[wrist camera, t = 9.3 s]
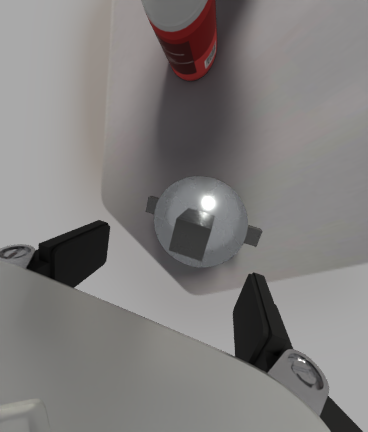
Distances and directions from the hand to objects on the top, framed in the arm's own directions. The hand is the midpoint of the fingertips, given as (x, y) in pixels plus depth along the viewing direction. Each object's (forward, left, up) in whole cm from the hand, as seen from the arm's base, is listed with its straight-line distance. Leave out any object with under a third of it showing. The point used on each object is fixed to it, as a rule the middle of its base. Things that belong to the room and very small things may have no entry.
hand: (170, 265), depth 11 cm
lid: (+1, 0, -13) cm, 13 cm away
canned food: (-23, -9, -23) cm, 34 cm away
